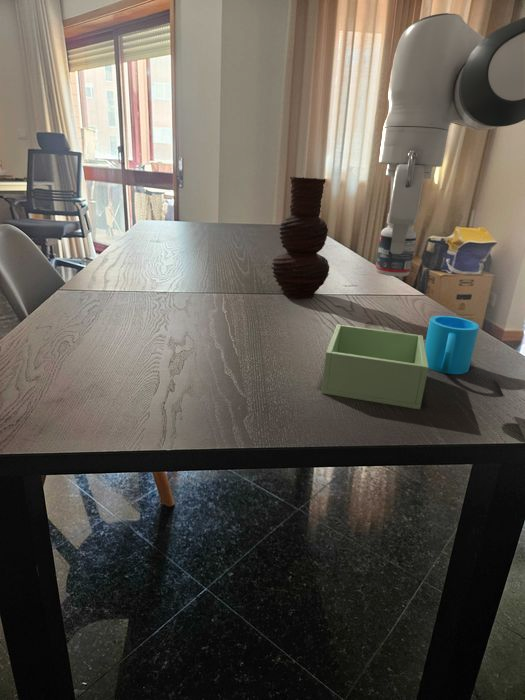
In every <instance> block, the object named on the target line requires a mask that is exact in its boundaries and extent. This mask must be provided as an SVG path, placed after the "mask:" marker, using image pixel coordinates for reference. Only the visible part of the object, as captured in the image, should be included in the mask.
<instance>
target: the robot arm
mask: <svg viewBox="0 0 525 700" xmlns="http://www.w3.org/2000/svg"><path fill="white" fill-rule="evenodd" d="M387 97H388V112H387V116H386V119H385V121H384V124H383V128H382V136H381V143H380V149H379V150H380V151H379V158H378V163H379V164H380V165H381V164H382V165H386V171H385V176H386V177H390V197H389V198H390V199H389V211H388V214H389V223H391V224H393V230H392V242H391V249H390V251H391V253H392V254H402V253H403V249H404V243H405V239H406V235H407V232H408V226H409V225H413V226H415V225H416V223H417V221H418V217H419V211H420V204H421V198H422V193H423V186H424V180H425V179H426V180H427V179H432V172H433V168H434V167H435V168H440V167H442V166H443V163H444V158H445V154H446V153H445V152H446V147H447V140H448V136H449V131H450V126H451V125H452V124H453V125H458V126H462V127H465V128H468V129H470V130H474V131H489V130H493V129H497V128H500V127H508V126H509V127H510V126H513V125H516V124H518V123H521V122H523V121H525V16H524V17H521V18H520V19H517V20H514V21H513V22H510V23H508V24H505V25H503V26H501V27H499V28H497V29H496V30H494V31H492V32H491V33H489V34H488V35H487V36H483V35H482V34H480V33H478V32H477V31H476V30H474V29H473V28H472V27H471V26H470V25H469V24H468V23H466V21H465V20H464V18H463V17H462V16H461V15H460V14H456V13H449V12H446V13H436V14H432V15H429V16H425V17H422V18H420V19H419V20H416V21H414V22H412V23H411V24H410V25H409V26H408V27H407V28H406V29H405V30H404V31H403V33H401V36H400V38H399V40H398V43H397V45H396V49H395V53H394V57H393V62H392V67H391V71H390V78H389V85H388V94H387Z"/></svg>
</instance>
